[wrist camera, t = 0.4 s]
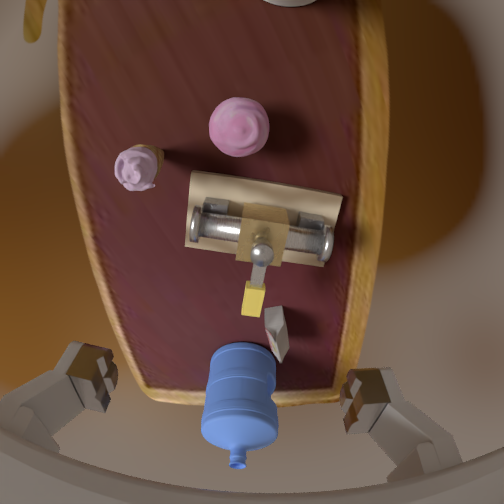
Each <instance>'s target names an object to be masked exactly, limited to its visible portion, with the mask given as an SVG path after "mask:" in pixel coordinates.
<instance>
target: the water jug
mask: <svg viewBox="0 0 504 504" xmlns="http://www.w3.org/2000/svg"><path fill="white" fill-rule="evenodd" d="M275 387H276V362H275V359H274V357H273V355H272V354H271V353H270V352H269V351H268V350H267V349H265V348H263V347H262V346H259V345H257V344H253V343H248V342H236V343H230V344H227V345H225V346H223V347H221V348H219V349H218V350H217V351H216V352H215V353H214V354H213V356H212V359H211V363H210V374H209V380H208V384H207V388H206V399H205V406H204V412H203V415H202V421H201V422H202V423H201V432H202V435H203V437H204V438H205V439H206V440H207V441H208V442H210V443H211V444H213V445H215V446H218V447H220V448H224V449H227V450H230V451H231V452H230V463H229V466H230V467H231V468H235V469H243V468H245V467H246V464H245V461H246V451H252V450H258V449H261V448H264V447H267V446H268V445H270V444H272V443H273V442H274V441H275V440H276V438H277V436H278V416H277V406H276V404H275V403H274V401H273V400H271V394H272V393H273V392H274V390H275Z"/></svg>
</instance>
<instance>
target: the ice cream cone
mask: <svg viewBox="0 0 504 504" xmlns="http://www.w3.org/2000/svg"><path fill="white" fill-rule="evenodd" d="M163 160H164V151H163V150H162V149H160V148H157V147H155V146H151V145H136V146H133V147H131V148H129V149H128V150H125V151H123V152H121V153H120V155H119V156H118V158H117V160H116V163H115V176H116V178H117V179H118V180H119V182H120V183H121V184H123V185H124V187H125V188H126V189H128V190H130V191H135V190H138V191H144V190H146V189H148V188H153V187H155V184H152V181H153V180H154V179H155V178H156V177H157V175H158V174H159V172H160V170H161V167H162V164H163Z"/></svg>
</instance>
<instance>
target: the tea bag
mask: <svg viewBox="0 0 504 504" xmlns="http://www.w3.org/2000/svg"><path fill="white" fill-rule="evenodd" d="M265 329H266V333H267V336H268V340H269V343H270V347H271V350H272V352H273V353H274V354H275V356H276V357H277V358H278V360H279V362H280V361H281V363H282V361H283V359H284V356H285V355H286V353H287V351H288V349H289V341H288V331H287V326H286V321H285V317H284V312H283V308H282V306H277V307H271V308H266V309H265Z"/></svg>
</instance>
